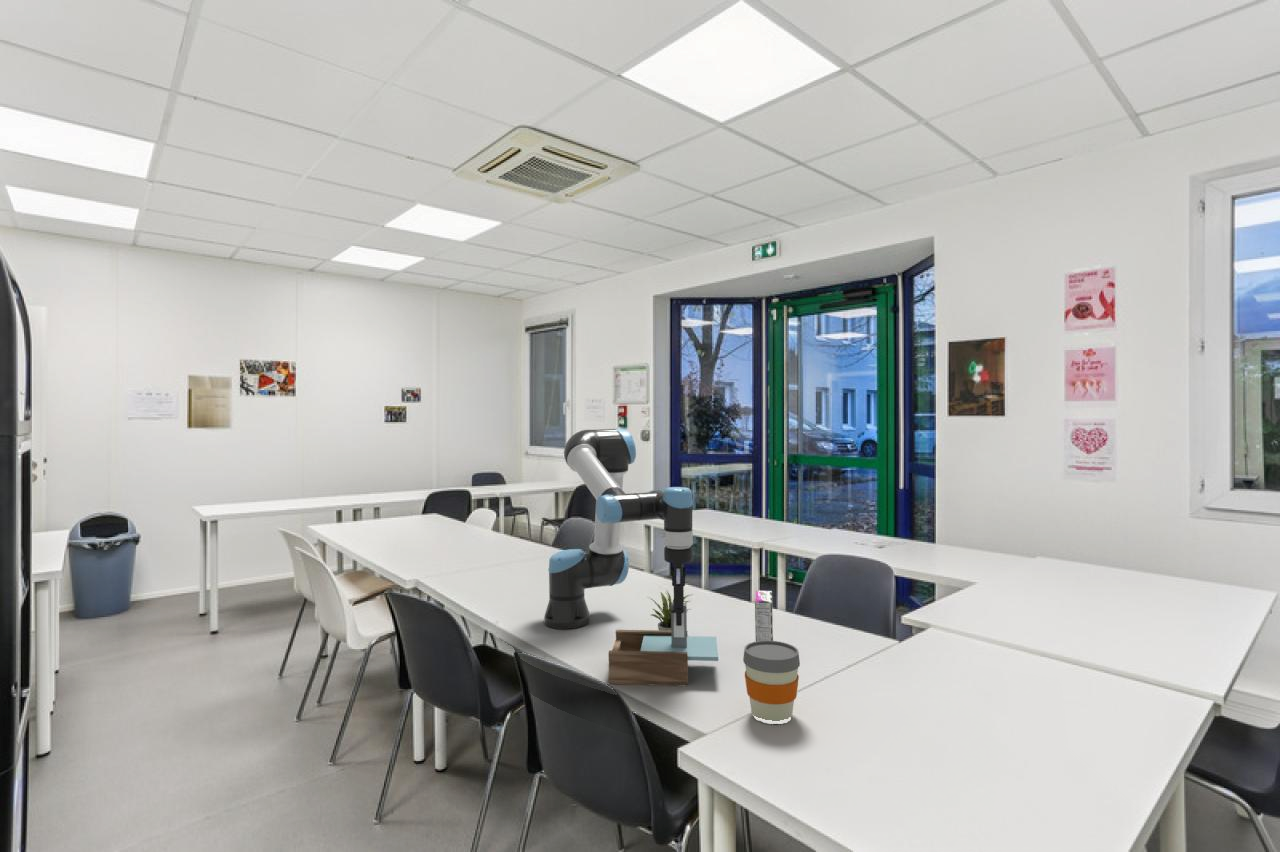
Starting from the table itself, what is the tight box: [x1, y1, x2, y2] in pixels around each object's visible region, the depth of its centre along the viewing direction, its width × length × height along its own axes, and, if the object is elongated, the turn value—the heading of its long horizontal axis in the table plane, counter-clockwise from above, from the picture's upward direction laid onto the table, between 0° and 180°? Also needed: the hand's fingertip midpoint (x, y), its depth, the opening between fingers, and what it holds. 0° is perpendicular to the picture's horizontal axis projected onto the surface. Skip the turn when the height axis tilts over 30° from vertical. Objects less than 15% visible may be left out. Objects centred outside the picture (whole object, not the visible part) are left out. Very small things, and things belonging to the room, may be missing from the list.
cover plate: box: [640, 602, 719, 662], centre depth 168 cm, size 15×20×12 cm
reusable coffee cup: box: [743, 640, 801, 721], centre depth 144 cm, size 13×13×15 cm
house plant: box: [647, 589, 694, 631], centre depth 188 cm, size 14×14×16 cm
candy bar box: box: [754, 590, 774, 642], centre depth 182 cm, size 11×5×16 cm, turn 168°
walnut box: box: [608, 629, 689, 687], centre depth 169 cm, size 17×20×8 cm
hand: (679, 634), depth 168 cm, fingers closed on cover plate, 3 cm apart
